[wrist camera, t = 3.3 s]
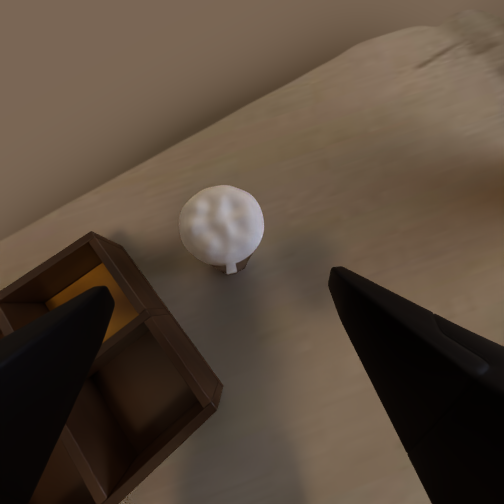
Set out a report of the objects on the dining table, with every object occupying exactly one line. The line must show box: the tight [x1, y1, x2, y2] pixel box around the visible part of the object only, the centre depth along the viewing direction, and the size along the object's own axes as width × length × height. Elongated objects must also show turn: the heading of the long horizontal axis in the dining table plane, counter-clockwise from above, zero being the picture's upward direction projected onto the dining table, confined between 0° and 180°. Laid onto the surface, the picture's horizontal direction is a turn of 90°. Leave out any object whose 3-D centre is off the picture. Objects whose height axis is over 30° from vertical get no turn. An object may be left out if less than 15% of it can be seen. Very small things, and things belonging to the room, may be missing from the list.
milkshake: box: [179, 185, 264, 275], centre depth 14 cm, size 4×5×10 cm
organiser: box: [0, 231, 223, 504], centre depth 15 cm, size 15×15×4 cm
